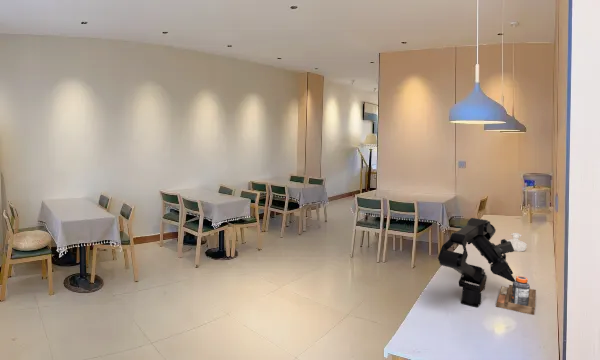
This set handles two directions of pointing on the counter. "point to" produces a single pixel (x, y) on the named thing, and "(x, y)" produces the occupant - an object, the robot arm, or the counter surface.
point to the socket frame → (505, 303)
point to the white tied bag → (517, 242)
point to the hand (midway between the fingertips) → (513, 277)
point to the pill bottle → (520, 291)
